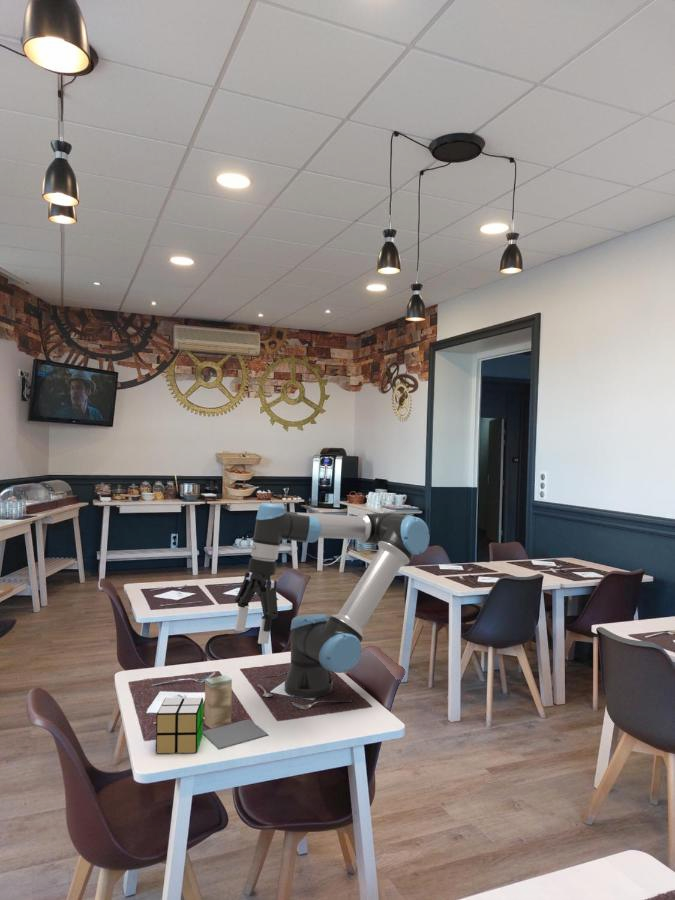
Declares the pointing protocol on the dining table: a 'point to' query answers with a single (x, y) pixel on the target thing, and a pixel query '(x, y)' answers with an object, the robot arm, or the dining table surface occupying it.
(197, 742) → the puzzle cube
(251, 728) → the felt mat
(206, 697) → the maple block
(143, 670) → the dining table surface
